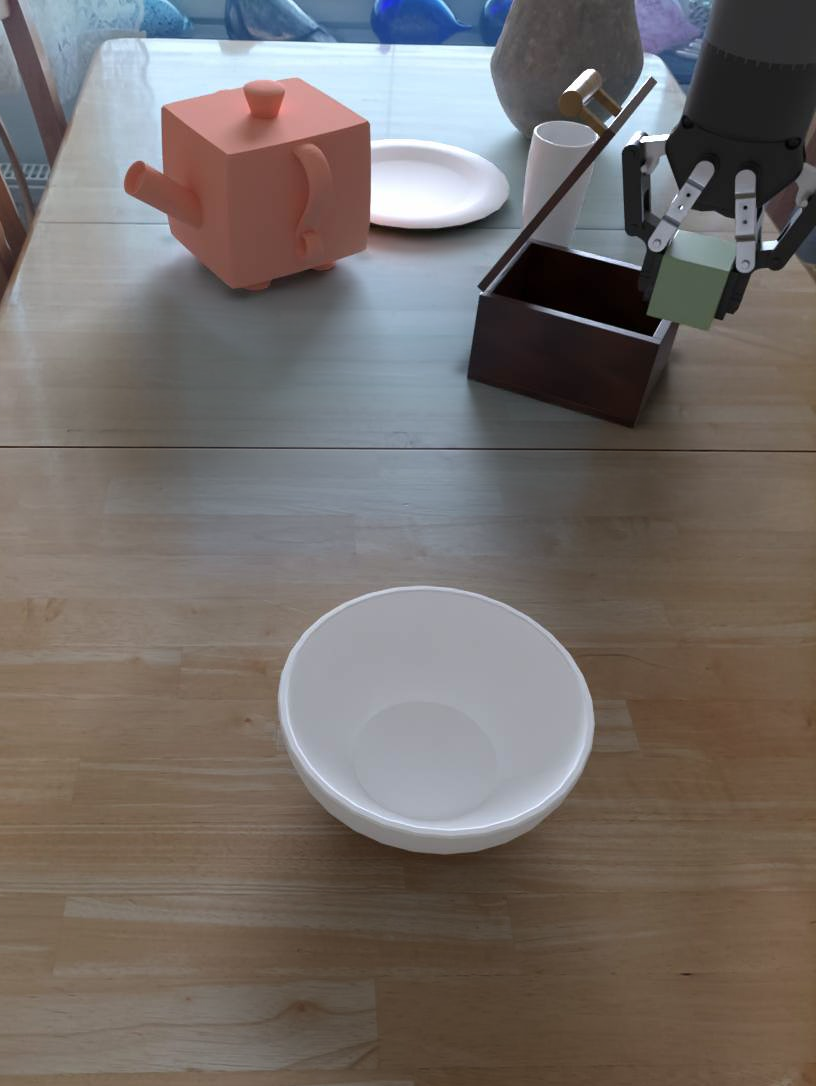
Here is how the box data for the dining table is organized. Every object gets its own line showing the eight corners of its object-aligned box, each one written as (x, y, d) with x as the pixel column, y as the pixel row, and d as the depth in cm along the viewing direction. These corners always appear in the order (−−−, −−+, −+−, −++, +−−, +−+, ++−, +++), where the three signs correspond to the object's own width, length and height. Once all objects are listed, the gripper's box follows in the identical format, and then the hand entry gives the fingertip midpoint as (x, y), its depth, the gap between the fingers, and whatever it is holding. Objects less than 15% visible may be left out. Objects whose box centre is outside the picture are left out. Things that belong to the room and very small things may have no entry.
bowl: (341, 621, 73) (345, 553, 68) (596, 700, 69) (622, 634, 64) (229, 832, 61) (223, 768, 56) (530, 943, 57) (555, 887, 52)
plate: (268, 184, 122) (268, 171, 121) (409, 135, 133) (411, 122, 132) (407, 262, 110) (408, 247, 109) (549, 200, 121) (552, 187, 120)
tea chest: (667, 362, 98) (694, 279, 92) (633, 429, 91) (660, 344, 84) (511, 318, 103) (526, 236, 96) (466, 378, 95) (479, 294, 89)
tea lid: (657, 81, 82) (612, 37, 81) (615, 134, 74) (564, 86, 74) (529, 234, 96) (489, 198, 95) (483, 292, 88) (439, 253, 88)
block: (721, 302, 70) (742, 243, 66) (708, 331, 67) (729, 272, 64) (660, 287, 71) (678, 228, 68) (645, 315, 68) (663, 256, 65)
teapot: (189, 342, 98) (171, 160, 84) (95, 248, 110) (67, 76, 97) (390, 279, 107) (403, 106, 94) (283, 199, 120) (281, 36, 106)
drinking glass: (503, 282, 108) (527, 141, 96) (514, 254, 112) (538, 115, 101) (563, 293, 107) (595, 151, 95) (572, 264, 111) (604, 125, 100)
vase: (555, 177, 126) (601, -53, 107) (454, 127, 136) (479, -92, 117) (651, 141, 135) (709, -78, 116) (550, 97, 144) (588, -112, 125)
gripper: (634, 32, 56) (572, 305, 69) (896, 79, 52) (778, 358, 65) (665, -4, 60) (602, 258, 73) (908, 37, 56) (796, 306, 69)
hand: (685, 304), depth 69 cm, fingers closed on block, 4 cm apart
